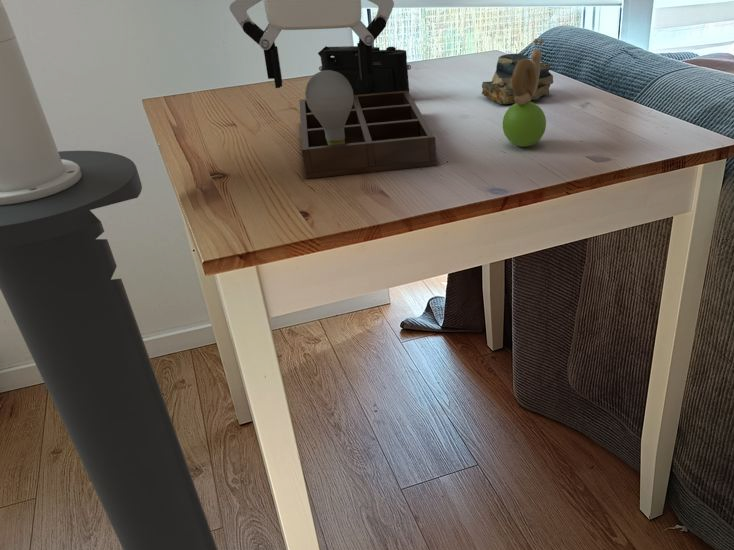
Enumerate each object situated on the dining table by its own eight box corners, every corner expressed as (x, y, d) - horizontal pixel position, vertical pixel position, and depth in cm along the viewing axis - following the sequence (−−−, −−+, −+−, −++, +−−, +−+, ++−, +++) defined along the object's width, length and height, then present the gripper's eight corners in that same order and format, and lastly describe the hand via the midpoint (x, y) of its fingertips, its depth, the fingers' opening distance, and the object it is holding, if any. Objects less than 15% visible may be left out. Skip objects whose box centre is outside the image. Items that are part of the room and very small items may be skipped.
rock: (477, 98, 107) (476, 59, 104) (524, 88, 111) (525, 50, 108) (511, 110, 101) (511, 69, 98) (559, 98, 105) (561, 59, 102)
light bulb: (345, 147, 87) (334, 63, 81) (369, 157, 83) (359, 70, 77) (307, 157, 84) (293, 71, 78) (329, 168, 80) (316, 78, 75)
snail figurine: (555, 140, 89) (559, 40, 82) (533, 155, 84) (536, 50, 78) (518, 134, 91) (519, 36, 85) (494, 148, 87) (494, 46, 80)
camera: (417, 91, 112) (413, 37, 107) (411, 102, 106) (407, 47, 102) (331, 92, 113) (324, 39, 109) (320, 104, 107) (312, 49, 103)
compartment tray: (306, 178, 80) (301, 149, 78) (303, 124, 98) (299, 99, 97) (436, 165, 82) (435, 137, 81) (409, 114, 101) (407, 90, 99)
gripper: (383, -97, 73) (393, 72, 83) (215, -96, 70) (245, 79, 80) (392, -96, 67) (401, 87, 77) (208, -94, 64) (242, 95, 74)
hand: (322, 83), depth 79 cm, fingers open, 9 cm apart
